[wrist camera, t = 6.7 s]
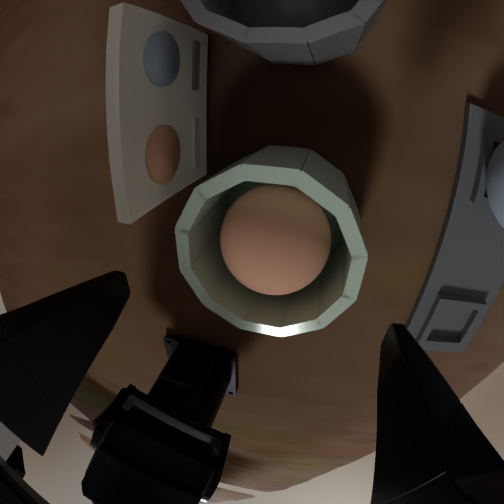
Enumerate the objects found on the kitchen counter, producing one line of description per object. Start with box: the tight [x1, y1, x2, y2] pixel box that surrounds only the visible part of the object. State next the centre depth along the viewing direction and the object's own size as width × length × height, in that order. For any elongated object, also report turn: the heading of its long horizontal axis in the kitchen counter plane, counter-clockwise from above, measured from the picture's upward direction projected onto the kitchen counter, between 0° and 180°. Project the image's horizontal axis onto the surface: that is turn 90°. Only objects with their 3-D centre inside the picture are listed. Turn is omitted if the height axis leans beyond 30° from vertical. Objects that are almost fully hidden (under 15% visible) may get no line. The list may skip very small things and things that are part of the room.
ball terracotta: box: [220, 184, 331, 295], centre depth 13 cm, size 5×5×5 cm
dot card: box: [106, 2, 208, 224], centre depth 10 cm, size 8×1×7 cm, turn 179°
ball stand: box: [405, 103, 504, 352], centre depth 12 cm, size 16×6×1 cm, turn 179°
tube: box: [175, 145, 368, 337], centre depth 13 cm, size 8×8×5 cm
